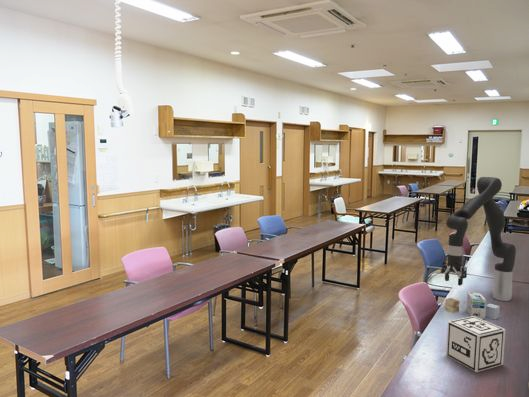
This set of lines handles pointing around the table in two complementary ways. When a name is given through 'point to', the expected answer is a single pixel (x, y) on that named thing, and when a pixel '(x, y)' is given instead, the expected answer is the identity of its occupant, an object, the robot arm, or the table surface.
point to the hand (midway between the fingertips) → (453, 283)
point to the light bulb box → (476, 305)
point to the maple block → (452, 305)
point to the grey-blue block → (492, 311)
